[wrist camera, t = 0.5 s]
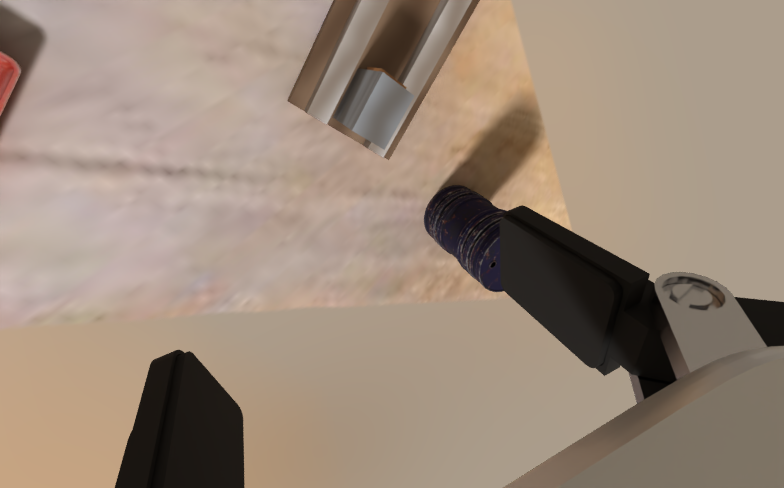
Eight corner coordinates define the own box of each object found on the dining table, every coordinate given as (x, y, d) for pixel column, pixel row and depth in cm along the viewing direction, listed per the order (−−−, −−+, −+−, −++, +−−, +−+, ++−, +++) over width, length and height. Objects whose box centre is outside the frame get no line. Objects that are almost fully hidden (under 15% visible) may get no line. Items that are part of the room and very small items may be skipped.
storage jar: (480, 181, 53) (552, 219, 41) (472, 235, 58) (533, 283, 46) (425, 188, 49) (485, 232, 37) (421, 245, 54) (473, 300, 42)
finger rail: (287, 100, 37) (299, 112, 30) (380, -103, 32) (424, -148, 25) (385, 157, 45) (414, 178, 37) (473, 1, 40) (527, -10, 32)
